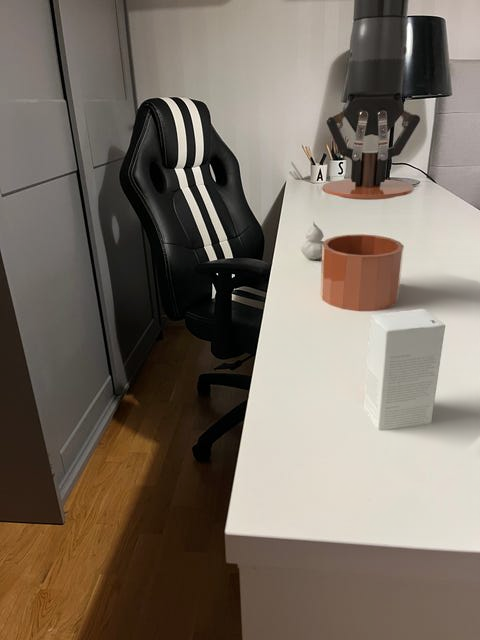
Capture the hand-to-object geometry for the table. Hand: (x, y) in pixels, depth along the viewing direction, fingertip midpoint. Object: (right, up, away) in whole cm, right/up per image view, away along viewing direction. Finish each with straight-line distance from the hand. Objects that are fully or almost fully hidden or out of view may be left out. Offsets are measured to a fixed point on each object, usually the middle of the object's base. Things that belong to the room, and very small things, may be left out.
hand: (367, 184), depth 76 cm
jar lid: (0, -1, 0) cm, 1 cm away
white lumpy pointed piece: (-3, -8, +29) cm, 30 cm away
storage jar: (+1, -17, +8) cm, 19 cm away
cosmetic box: (-3, -32, -22) cm, 39 cm away
